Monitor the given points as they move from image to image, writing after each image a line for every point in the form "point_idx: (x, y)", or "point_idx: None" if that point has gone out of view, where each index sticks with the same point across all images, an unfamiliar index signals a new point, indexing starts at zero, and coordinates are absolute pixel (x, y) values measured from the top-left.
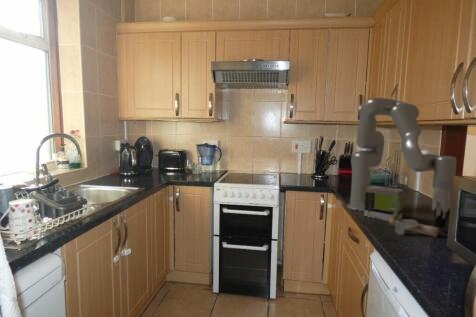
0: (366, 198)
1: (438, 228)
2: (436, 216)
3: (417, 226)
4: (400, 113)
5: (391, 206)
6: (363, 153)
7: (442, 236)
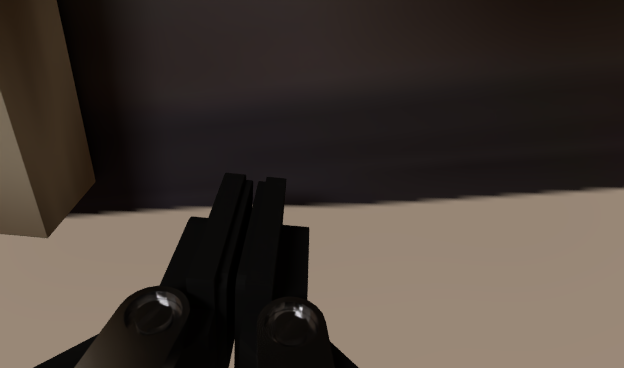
0: None
1: (30, 234)
2: (114, 317)
3: None
4: None
5: None
6: None
7: (95, 214)
